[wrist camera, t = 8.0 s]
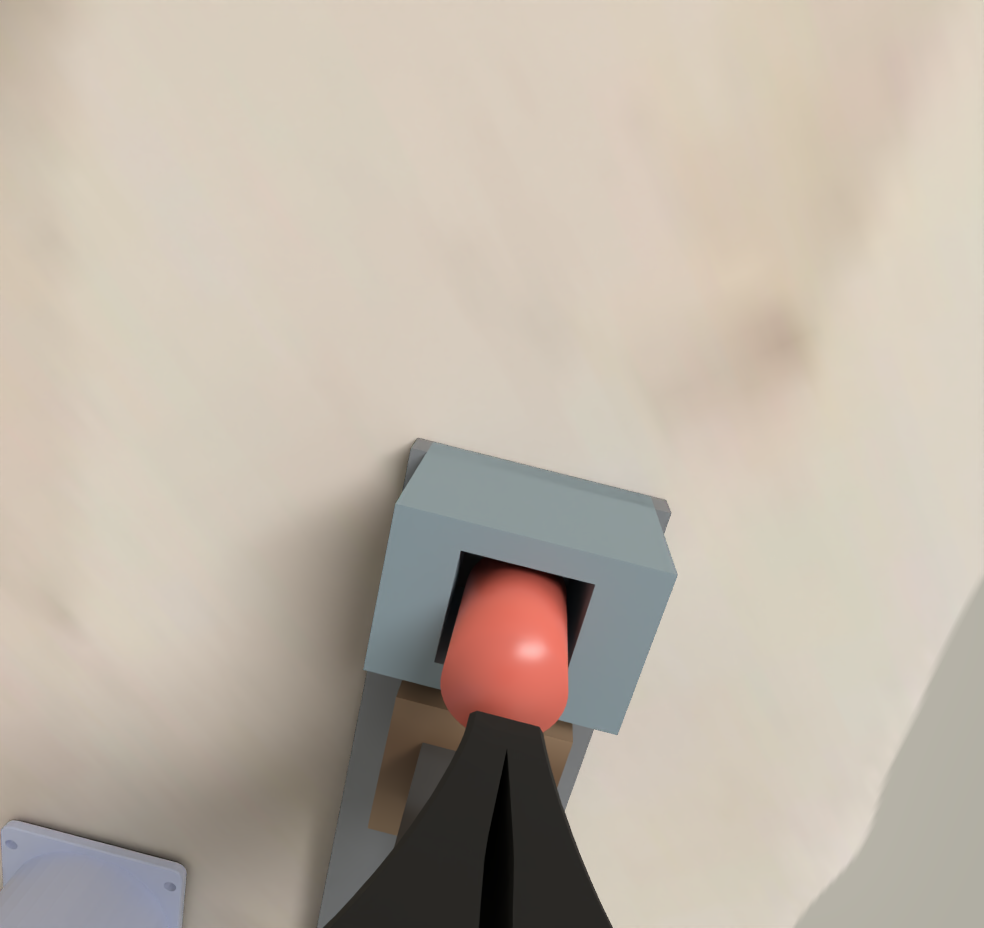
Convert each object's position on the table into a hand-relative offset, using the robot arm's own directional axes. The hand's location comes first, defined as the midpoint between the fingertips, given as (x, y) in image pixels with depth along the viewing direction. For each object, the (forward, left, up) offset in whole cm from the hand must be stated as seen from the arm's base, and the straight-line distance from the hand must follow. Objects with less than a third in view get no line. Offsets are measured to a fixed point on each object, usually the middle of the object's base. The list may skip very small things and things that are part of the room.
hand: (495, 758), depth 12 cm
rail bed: (-10, 0, -10) cm, 13 cm away
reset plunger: (0, 0, -6) cm, 6 cm away
